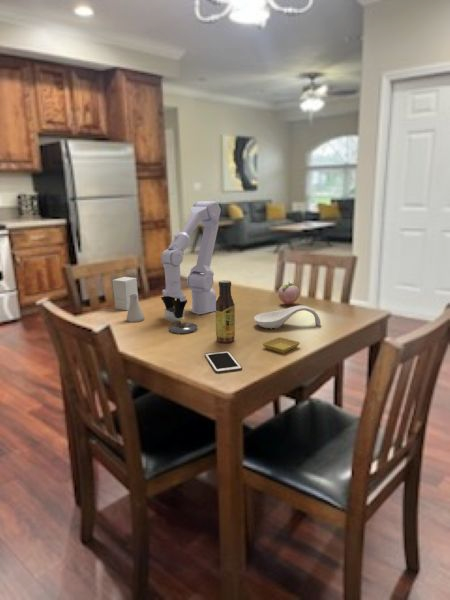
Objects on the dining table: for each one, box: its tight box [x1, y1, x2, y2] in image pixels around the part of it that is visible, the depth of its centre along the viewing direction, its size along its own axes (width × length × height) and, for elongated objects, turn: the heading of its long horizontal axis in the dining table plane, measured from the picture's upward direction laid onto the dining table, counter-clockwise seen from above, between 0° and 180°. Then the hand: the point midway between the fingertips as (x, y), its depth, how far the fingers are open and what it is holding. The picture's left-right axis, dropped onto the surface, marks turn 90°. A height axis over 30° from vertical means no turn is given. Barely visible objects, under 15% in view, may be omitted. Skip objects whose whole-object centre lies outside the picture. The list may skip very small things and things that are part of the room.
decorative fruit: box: [277, 282, 300, 306], centre depth 190 cm, size 9×8×10 cm
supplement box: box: [112, 276, 140, 311], centre depth 193 cm, size 7×7×13 cm
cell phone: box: [204, 350, 243, 374], centre depth 132 cm, size 8×15×1 cm, turn 15°
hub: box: [168, 316, 198, 335], centre depth 162 cm, size 10×10×4 cm
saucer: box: [262, 336, 301, 354], centre depth 142 cm, size 9×9×2 cm
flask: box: [125, 293, 145, 323], centre depth 175 cm, size 7×7×10 cm
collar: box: [164, 308, 186, 323], centre depth 175 cm, size 6×6×4 cm
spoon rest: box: [253, 305, 321, 330], centre depth 164 cm, size 24×12×7 cm, turn 92°
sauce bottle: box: [215, 279, 236, 344], centre depth 148 cm, size 6×6×20 cm
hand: (174, 315), depth 175 cm, fingers open, 6 cm apart
